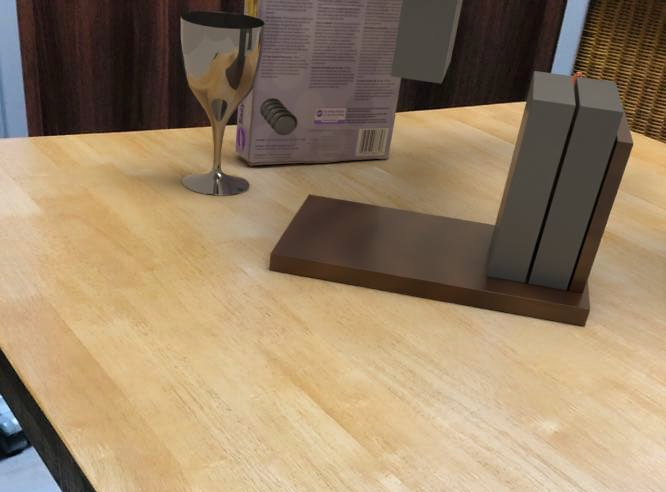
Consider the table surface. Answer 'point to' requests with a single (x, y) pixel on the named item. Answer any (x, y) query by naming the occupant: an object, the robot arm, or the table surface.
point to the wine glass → (220, 80)
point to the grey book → (425, 39)
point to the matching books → (554, 178)
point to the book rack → (437, 251)
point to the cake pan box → (321, 82)
